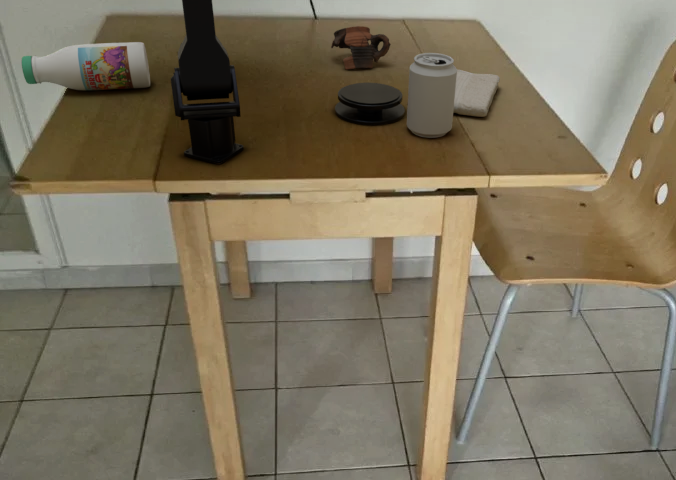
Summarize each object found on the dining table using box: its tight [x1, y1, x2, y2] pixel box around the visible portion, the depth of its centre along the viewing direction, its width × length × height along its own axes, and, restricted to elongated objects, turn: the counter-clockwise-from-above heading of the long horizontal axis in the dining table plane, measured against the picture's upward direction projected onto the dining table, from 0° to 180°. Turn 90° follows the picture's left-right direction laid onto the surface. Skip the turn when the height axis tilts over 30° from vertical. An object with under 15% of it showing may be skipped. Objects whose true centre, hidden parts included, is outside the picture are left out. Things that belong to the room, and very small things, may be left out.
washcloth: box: [453, 69, 501, 118], centre depth 129 cm, size 12×18×3 cm, turn 167°
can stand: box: [334, 82, 406, 126], centre depth 122 cm, size 12×12×3 cm
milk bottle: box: [21, 41, 151, 91], centre depth 124 cm, size 8×8×20 cm
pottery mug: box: [330, 25, 392, 71], centre depth 143 cm, size 12×10×8 cm
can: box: [406, 52, 458, 139], centre depth 114 cm, size 8×8×12 cm
